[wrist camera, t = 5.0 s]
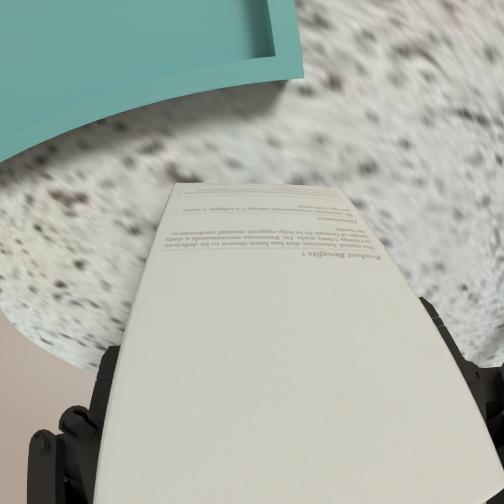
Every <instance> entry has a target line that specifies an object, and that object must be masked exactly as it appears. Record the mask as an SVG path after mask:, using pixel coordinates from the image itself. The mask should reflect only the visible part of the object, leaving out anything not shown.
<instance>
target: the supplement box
mask: <svg viewBox="0 0 504 504" xmlns="http://www.w3.org/2000/svg"><path fill="white" fill-rule="evenodd" d="M503 488H504V470H503V468H502V465H501V462H500V460H499V457H498V455H497V452H496V449H495V447H494V444H493V442H492V439H491V437H490V434H489V432H488V430H487V427H486V425H485V422H484V420H483V418H482V416H481V413H480V411H479V409H478V407H477V405H476V402H475V400H474V398H473V396H472V394H471V392H470V390H469V388H468V386H467V384H466V382H465V379H464V378H463V376H462V374H461V372H460V370H459V368H458V366H457V364H456V362H455V360H454V358H453V356H452V354H451V353H450V351H449V349H448V347H447V345H446V344H445V342H444V340H443V338H442V337H441V335H440V333H439V331H438V329H437V328H436V326H435V324H434V323H433V321H432V319H431V317H430V316H429V314H428V312H427V311H426V309H425V307H424V306H423V304H422V303H421V301H420V300H419V298H418V296H417V295H416V293H415V291H414V290H413V288H412V287H411V285H410V284H409V282H408V281H407V279H406V278H405V276H404V274H403V273H402V271H401V270H400V268H399V267H398V266H397V264H396V262H395V261H394V259H393V258H392V257H391V255H390V254H389V253H388V251H387V250H386V248H385V247H384V245H383V244H382V242H381V241H380V240H379V239H378V237H377V236H376V234H375V233H374V232H373V230H372V229H371V228H370V226H369V225H368V223H367V222H366V221H365V219H364V218H363V217H362V215H361V214H360V213H359V211H358V210H357V209H356V208H355V206H354V205H353V204H352V203H351V201H350V200H349V199H348V197H347V196H346V195H345V194H344V192H343V191H342V190H341V189H340V188H332V187H320V186H305V185H284V184H254V183H175V184H174V186H173V188H172V191H171V193H170V196H169V198H168V201H167V203H166V206H165V209H164V211H163V214H162V217H161V220H160V222H159V225H158V228H157V230H156V233H155V236H154V239H153V242H152V245H151V248H150V251H149V254H148V257H147V260H146V263H145V266H144V269H143V272H142V275H141V278H140V281H139V285H138V288H137V291H136V294H135V298H134V301H133V305H132V308H131V311H130V315H129V319H128V322H127V326H126V329H125V333H124V337H123V341H122V345H121V348H120V352H119V356H118V361H117V365H116V369H115V373H114V377H113V382H112V386H111V391H110V396H109V400H108V405H107V410H106V416H105V421H104V427H103V434H102V440H101V446H100V452H99V458H98V465H97V473H96V482H95V491H94V500H93V504H482V503H484V502H485V501H487V500H488V499H490V498H491V497H493V496H494V495H496V494H497V493H498V492H500V491H501V490H502V489H503Z"/></svg>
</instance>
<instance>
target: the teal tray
mask: <svg viewBox="0 0 504 504" xmlns="http://www.w3.org/2000/svg"><path fill="white" fill-rule="evenodd" d="M299 78H304V71H303V62H302V54H301V46H300V38H299V31H298V24H297V17H296V11H295V4H294V0H0V162H2V161H4V160H6V159H8V158H10V157H12V156H14V155H16V154H18V153H20V152H22V151H24V150H26V149H28V148H30V147H32V146H35V145H37V144H39V143H41V142H43V141H46V140H48V139H50V138H53V137H55V136H57V135H60V134H62V133H65V132H67V131H70V130H72V129H75V128H77V127H80V126H83V125H85V124H88V123H91V122H94V121H97V120H99V119H102V118H105V117H108V116H111V115H114V114H117V113H121V112H124V111H127V110H130V109H134V108H137V107H141V106H144V105H148V104H152V103H155V102H159V101H163V100H167V99H171V98H175V97H180V96H184V95H189V94H193V93H198V92H203V91H208V90H214V89H219V88H225V87H231V86H237V85H244V84H251V83H259V82H267V81H276V80H286V79H299Z"/></svg>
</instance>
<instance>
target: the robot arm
mask: <svg viewBox="0 0 504 504" xmlns="http://www.w3.org/2000/svg"><path fill="white" fill-rule="evenodd" d="M142 272H143V271H142ZM141 275H142V273H141ZM140 278H141V276H140ZM139 281H140V279H139ZM138 285H139V283H138ZM137 288H138V286H137ZM136 291H137V289H136ZM135 294H136V293H135ZM134 298H135V296H134ZM419 300H420V301H421V303H422V304H423V306H424V307H425V309H426V311H427V312H428V314H429V316H430V317H431V319H432V321H433V323H434V324H435V326H436V328H437V329H438V331H439V333H440V335H441V337H442V338H443V340H444V342H445V344H446V345H447V347H448V349H449V351H450V353H451V354H452V356H453V358H454V360H455V362H456V364H457V366H458V368H459V370H460V372H461V374H462V376H463V378H464V379H465V382H466V384H467V386H468V388H469V390H470V392H471V394H472V396H473V398H474V400H475V402H476V405H477V407H478V409H479V411H480V413H481V416H482V418H483V420H484V422H485V425H486V427H487V430H488V432H489V434H490V437H491V439H492V442H493V444H494V447H495V449H496V452H497V455H498V457H499V460H500V462H501V465H502V468H503V470H504V363H503V364H502V366H501V367H492V368H479V367H478V366H477V365H476V364H474V363H473V362H470V361H466V360H465V359H464V357H463V356H462V354H461V353H460V351H459V349H458V347H457V345H456V344H455V342H454V340H453V338H452V337H451V335H450V333H449V332H448V330H447V328H446V326H444V323H443V322H442V320H441V318H439V315H438V313H437V312H436V310H435V309H434V307H433V305H432V304H430V303H429V302H428V301H427V300H425V299H424V298H423V297H419ZM133 301H134V299H133ZM132 305H133V303H132ZM131 308H132V306H131ZM130 311H131V310H130ZM129 315H130V313H129ZM128 319H129V317H128ZM127 322H128V320H127ZM126 326H127V324H126ZM125 329H126V328H125ZM124 333H125V332H124ZM123 337H124V335H123ZM122 341H123V339H122ZM121 345H122V343H121ZM120 348H121V346H109V348H108V349H107V351H106V352H105V353H104V355H103V356H102V359H101V363H100V366H99V371H98V374H97V378H96V379H97V381H96V382H95V386H94V391H93V394H92V399H91V403H90V407H89V410H88V409H87V408H85V407H83V406H79V405H78V406H72V407H70V408H68V409H67V410H66V411H65V412H64V413H63V414H62V416H61V418H60V420H59V430H61V431H62V432H63V434H58V435H54V434H53V433H52V432H50V431H48V430H45V429H43V430H39V431H37V432H36V433H35V434H34V435H33V437H32V438H31V441H30V445H29V456H28V473H27V474H28V475H27V504H93V500H94V491H95V482H96V473H97V465H98V458H99V452H100V446H101V440H102V434H103V427H104V421H105V416H106V410H107V405H108V400H109V396H110V391H111V386H112V382H113V377H114V373H115V369H116V365H117V361H118V356H119V352H120ZM486 504H504V488H503V489H502V490H501V491H500V492H498V493H497V494H496V495H494V496H493V497H491V498H490V499H488V500H487V501H486Z"/></svg>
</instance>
